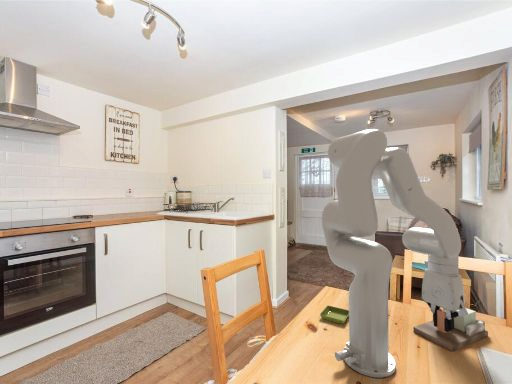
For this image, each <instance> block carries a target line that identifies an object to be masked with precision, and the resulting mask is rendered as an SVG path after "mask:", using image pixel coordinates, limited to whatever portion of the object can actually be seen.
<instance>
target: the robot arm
mask: <svg viewBox="0 0 512 384" xmlns="http://www.w3.org/2000/svg"><path fill="white" fill-rule="evenodd" d="M327 156H328V157H327V158H328V159H329V162H330V163H331V164H332V165H334V166H335V167H336V168H338V171H337V174H336V179H335V180H336V181H335V187H336V195H337V196H336V197H337V199H334V200H331V201H329V202H328V203H326V205H325V206H324V208H323V211H322V213H321V224H322V230H323V234H324V235H323V236H324V239H325V245H326V249H327V253H328V256H329V258H330V260H331V262H332V263H333V264H334V265H335V266H337V267H339V268H340V269H343V270H345V271H348V272H350V273H352V274H354V278H353V280H352V281H351V283H350V285H349V289H348V310H349V315H348V341H347V342H345V347H344V348H343V350H339V351H336V352H334V357H335V359H336V361H338V362H340V361H344V362H345V363H346V364H347V365H348V367H350V368H351V369H352V370H354V371H356V372H357V373H359V374H362V375H363V376H368V377H371V378H387V377H389V376H392V375H393V374H394V373H395V372H396V367H397V364H396V360H395V358H394V357H393V356H392V355H391V353H390V351H389V349H390V346H389V345H390V343H389V337H390V335H389V333H390V332H389V287H390V278H391V273H392V269H393V256H392V254H391V253H392V252H391V251H389V249H388V248H387V247H386V246H384V245H383V244H381V243H379V242H377V241H374V240H369V239H365V238H370V237H372V236H375V234H376V232H378V228H379V219H378V212H377V207H376V203H375V197H374V192H373V185H372V180H378V179H379V180H381V181H382V184H383V185H384V188H385V190H386V193H387V195H388V197H389V200H390V202H391V204H392V206H394V207H395V208H396V209H398V210H399V211H402V212H403V213H404V214H407V215H410V216H411V217H414V218H416V219H418V220H419V221H421V223H424V224H425V225H426V226H428V227H418V226H417V227H416V226H414V227H410V228H408V229H406V230H405V231H404V233H403V234H402V237H401V241H402V244H403V246H404V247H405V248H406V249H408V250H409V251H412V252H415V253H419V254H422V255H427V259H425V260H424V265H427V268H425V270H424V274H423V278H422V284H421V286H422V287H421V300H422V301H423V302H424V303H426V304H427V306H428V307H429V309H430V311H431V313H432V321H433V322H434V326H435V327H437V310H439V309H443V308H444V309H446V318H445V319H444V330H445V331H446V332H449V331H452V330H453V329H454V318H456V317H458V316H466V315H468V312H467V310H466V308H467V307H466V298H465V297H466V295H465V288H464V282H463V279H462V275H461V274H459V255H460V253H461V251H462V240H461V236H460V232H459V231H458V228H457V226H456V222H455V220H454V219H453V217H452V216H451V215H450V214H449V213H448V212H447V210H445V209H444V208H443V207H442V206H441V205H439V203H437V202H436V201H434V200H433V199H432V198H430V197H429V196H428V195H427V194H426V193H425V191H424V189H423V186H422V183H421V181H420V179H419V176H418V174H417V173H418V172H417V171H416V168H415V166H414V163H413V161H412V158H411V157H410V156H411V155H410V154H409V152H408V151H407V150H406V149H404V148H401V147H388V139H387V135H386V133H385V132H384V131H383V130H381V129H376V128H373V129H372V128H370V129H364V130H361V131H358V132H355V133H351V134H347V135H344V136H341V137H338V138H335V139H334V140H333V141H332V142H330V145H329V146H328V148H327ZM363 238H364V239H363ZM458 309H459V311H457V310H458Z"/></svg>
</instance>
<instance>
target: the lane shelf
mask: <svg viewBox="0 0 512 384" xmlns="http://www.w3.org/2000/svg"><path fill="white" fill-rule="evenodd" d="M413 333H415V334H417V335H419V336H421V337H423V338H426V339H427V340H429V341H430V342H432V343H435V344H437V345H439V346H441V347H442V348H444V349H446V350H447V351H450V352H454V351H456V350H458V349H461V348H463V347H465V346H468V345H471V344H474V343H475V342H478V341H479V340H482V339H485V338H487V337H489V331H488V330H487V329H486V323H485V321H483V320H481V319H478V318H476V323H474V324H471V325H468V326H466V331H465V332H463V331H461V330H459V329H457V328H454V329H453V330H452V331H450V332H448V333H443V332H441V331H439V330H437V327H435V326H434V322H433V320H430V321H427V322H424V323H421V324H418V325H416V326H413Z"/></svg>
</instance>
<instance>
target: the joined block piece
mask: <svg viewBox="0 0 512 384" xmlns="http://www.w3.org/2000/svg"><path fill="white" fill-rule="evenodd" d="M465 308H466V310H467V312H468V315H466V316H458V317H456V318H454V328H457V329H459V330H461V331H463V332H465V331H466V326H468V325H471V324H474V323H476V319H477V318H476V317H477V315H476V313H477V311H476V310H473V309H470V308H467V307H465ZM457 311H459V309H458V310H457ZM445 318H446V309H444V308H440V309H439V310H437V330H439V331H441V332H443V333H448V332H446V331H445V330H444V319H445ZM449 332H450V331H449Z"/></svg>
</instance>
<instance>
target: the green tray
mask: <svg viewBox="0 0 512 384" xmlns="http://www.w3.org/2000/svg"><path fill="white" fill-rule="evenodd" d="M329 311H331V312H329ZM328 312H329V314H328ZM319 316H320V317H321V318H322V319H323V320H325V319H326V321H330V322H334V323H337V324H341V325H343V324H344V323H345V322H346V320H347V318H349V309H345V308H341V307H337V306H332V305H326V306H325V307H324V308H323V310H322V311H321V312H320V313H319Z"/></svg>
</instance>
